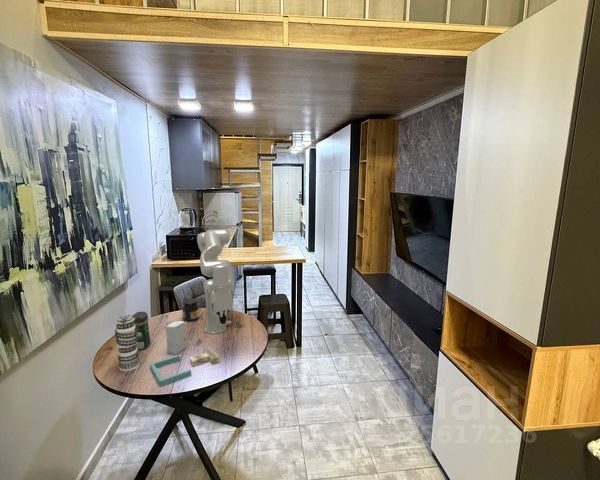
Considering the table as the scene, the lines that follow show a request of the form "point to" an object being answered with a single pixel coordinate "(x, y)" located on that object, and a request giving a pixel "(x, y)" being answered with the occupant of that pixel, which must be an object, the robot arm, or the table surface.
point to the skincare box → (176, 337)
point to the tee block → (205, 358)
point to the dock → (172, 378)
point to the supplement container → (190, 310)
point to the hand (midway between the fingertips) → (222, 323)
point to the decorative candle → (127, 343)
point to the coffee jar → (142, 330)
